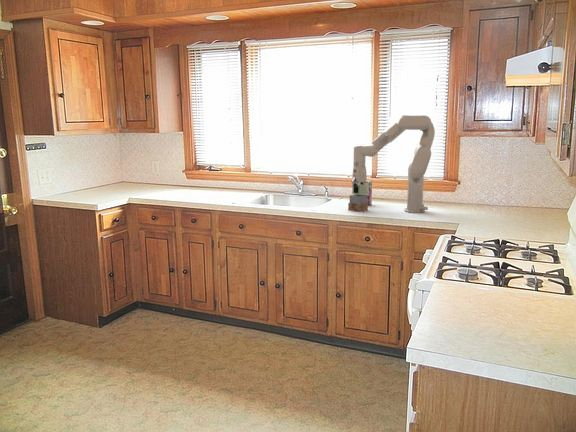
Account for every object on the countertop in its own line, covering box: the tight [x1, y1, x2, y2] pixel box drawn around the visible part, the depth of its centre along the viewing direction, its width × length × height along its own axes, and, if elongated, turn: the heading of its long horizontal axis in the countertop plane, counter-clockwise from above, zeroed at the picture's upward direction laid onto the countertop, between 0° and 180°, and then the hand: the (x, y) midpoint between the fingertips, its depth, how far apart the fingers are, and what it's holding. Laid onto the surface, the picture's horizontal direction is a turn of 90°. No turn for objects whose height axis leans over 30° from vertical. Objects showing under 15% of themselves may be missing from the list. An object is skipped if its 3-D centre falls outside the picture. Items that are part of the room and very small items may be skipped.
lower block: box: [347, 202, 369, 213], centre depth 328 cm, size 9×9×5 cm
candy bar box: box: [356, 180, 373, 207], centre depth 347 cm, size 11×5×16 cm, turn 62°
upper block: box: [349, 194, 367, 204], centre depth 327 cm, size 8×8×5 cm
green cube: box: [351, 184, 365, 195], centre depth 326 cm, size 6×6×6 cm
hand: (358, 192), depth 327 cm, fingers closed on green cube, 6 cm apart
